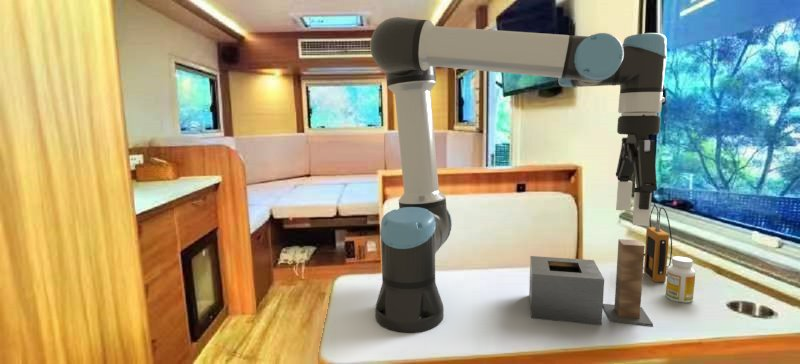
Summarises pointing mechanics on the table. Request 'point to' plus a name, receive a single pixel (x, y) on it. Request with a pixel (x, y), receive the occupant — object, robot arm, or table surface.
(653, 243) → the multimeter
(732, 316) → the table surface
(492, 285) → the table surface
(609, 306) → the rest mat
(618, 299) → the brown rectangular block
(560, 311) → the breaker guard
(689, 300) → the supplement bottle
